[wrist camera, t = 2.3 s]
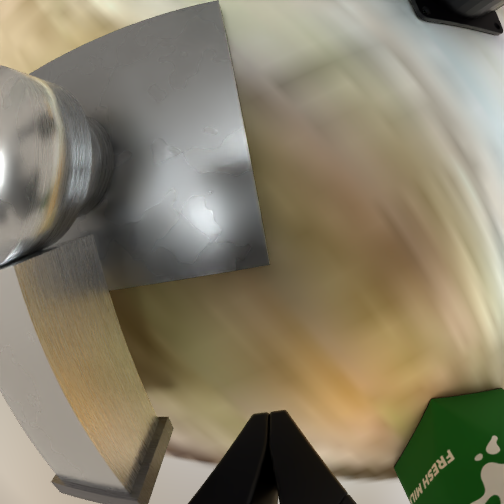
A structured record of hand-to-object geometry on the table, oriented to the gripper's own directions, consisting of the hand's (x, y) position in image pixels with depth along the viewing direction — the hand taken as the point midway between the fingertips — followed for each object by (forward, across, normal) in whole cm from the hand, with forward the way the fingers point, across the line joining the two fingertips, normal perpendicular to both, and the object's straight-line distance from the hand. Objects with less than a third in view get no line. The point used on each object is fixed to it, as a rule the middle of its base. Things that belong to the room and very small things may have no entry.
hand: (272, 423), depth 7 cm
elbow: (+5, +8, -4) cm, 10 cm away
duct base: (+8, +8, -8) cm, 14 cm away
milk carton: (+8, -11, +13) cm, 19 cm away
